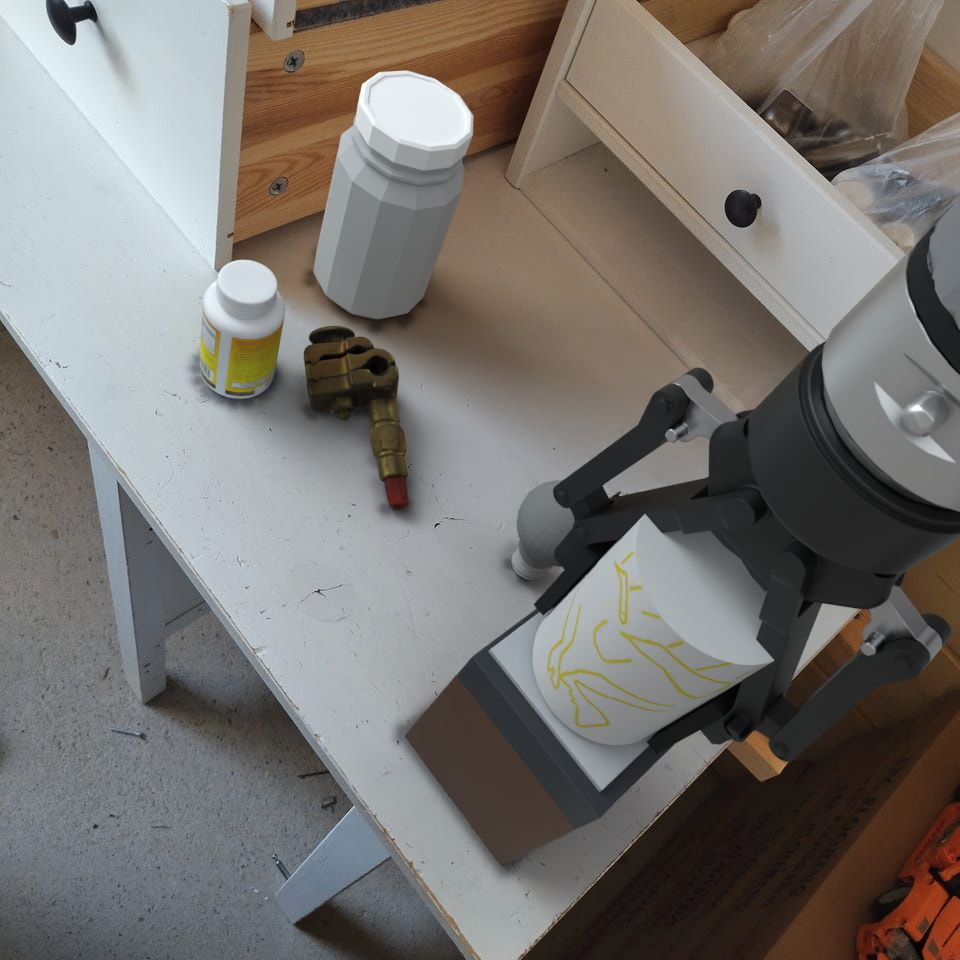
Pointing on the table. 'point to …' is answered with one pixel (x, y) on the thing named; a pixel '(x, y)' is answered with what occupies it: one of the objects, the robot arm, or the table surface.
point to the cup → (649, 635)
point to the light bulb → (540, 531)
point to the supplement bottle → (241, 330)
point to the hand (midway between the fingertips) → (610, 662)
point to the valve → (361, 397)
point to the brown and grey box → (519, 752)
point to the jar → (392, 194)
